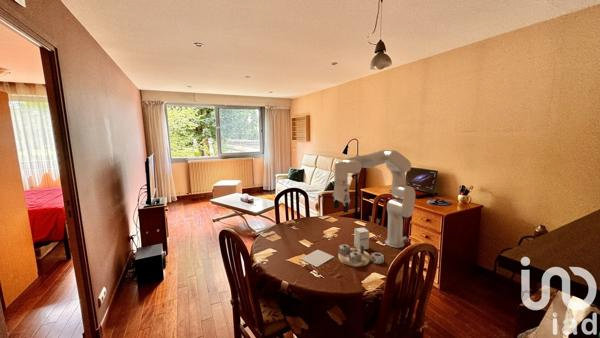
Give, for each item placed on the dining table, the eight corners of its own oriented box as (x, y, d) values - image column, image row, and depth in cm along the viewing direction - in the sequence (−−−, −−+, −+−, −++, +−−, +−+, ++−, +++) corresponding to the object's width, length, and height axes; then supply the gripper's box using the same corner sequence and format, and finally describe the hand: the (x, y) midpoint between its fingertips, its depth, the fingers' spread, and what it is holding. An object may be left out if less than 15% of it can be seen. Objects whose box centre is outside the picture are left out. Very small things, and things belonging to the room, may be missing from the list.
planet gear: (377, 257, 148) (377, 251, 148) (386, 262, 142) (386, 256, 141) (368, 259, 145) (368, 253, 145) (376, 265, 139) (377, 258, 138)
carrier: (356, 248, 160) (356, 238, 159) (376, 261, 143) (376, 250, 142) (332, 254, 152) (332, 244, 151) (350, 269, 135) (350, 258, 134)
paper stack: (347, 263, 142) (347, 262, 142) (319, 281, 125) (319, 280, 125) (317, 250, 159) (317, 249, 159) (290, 264, 142) (289, 263, 142)
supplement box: (359, 250, 157) (359, 232, 155) (353, 245, 164) (354, 228, 162) (369, 249, 159) (369, 231, 157) (363, 244, 166) (363, 227, 164)
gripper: (355, 184, 135) (354, 213, 137) (338, 179, 150) (338, 205, 152) (344, 185, 131) (344, 215, 134) (328, 180, 147) (328, 207, 149)
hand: (340, 210), depth 143 cm, fingers open, 9 cm apart
